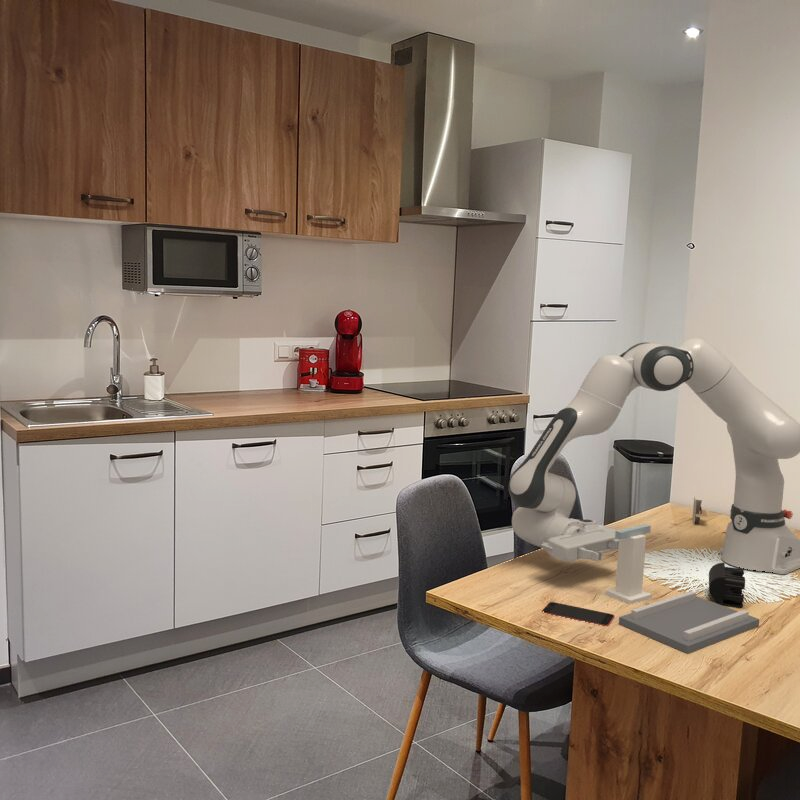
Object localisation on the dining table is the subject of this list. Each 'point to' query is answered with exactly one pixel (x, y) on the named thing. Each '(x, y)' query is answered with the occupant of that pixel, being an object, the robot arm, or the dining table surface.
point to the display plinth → (688, 622)
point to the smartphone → (579, 613)
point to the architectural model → (698, 511)
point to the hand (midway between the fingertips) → (613, 553)
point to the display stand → (630, 565)
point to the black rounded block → (727, 585)
